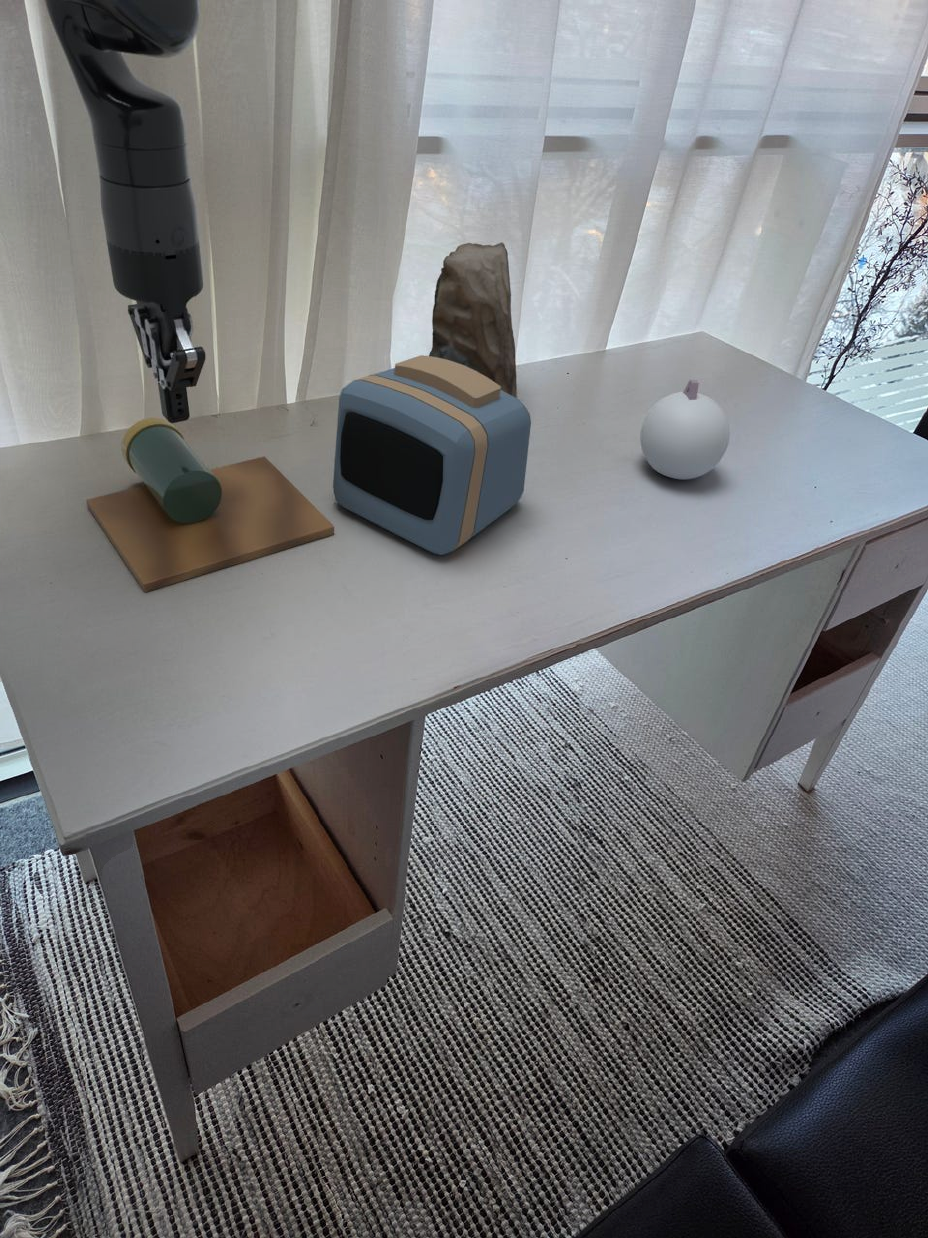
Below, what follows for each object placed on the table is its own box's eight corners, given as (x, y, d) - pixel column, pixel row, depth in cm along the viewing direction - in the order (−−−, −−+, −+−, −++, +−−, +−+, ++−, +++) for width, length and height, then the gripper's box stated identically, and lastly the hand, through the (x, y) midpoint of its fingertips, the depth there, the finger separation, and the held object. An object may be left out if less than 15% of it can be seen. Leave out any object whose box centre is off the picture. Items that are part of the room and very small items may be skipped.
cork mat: (145, 592, 78) (143, 584, 77) (87, 507, 87) (85, 499, 86) (334, 534, 88) (334, 526, 87) (265, 463, 97) (264, 455, 96)
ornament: (616, 458, 107) (639, 369, 99) (678, 446, 111) (704, 359, 103) (667, 500, 100) (696, 408, 92) (730, 485, 104) (763, 396, 97)
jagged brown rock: (421, 426, 108) (434, 266, 95) (414, 382, 117) (424, 231, 104) (517, 430, 110) (542, 273, 97) (502, 387, 119) (524, 239, 106)
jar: (150, 489, 80) (110, 435, 86) (177, 536, 85) (137, 481, 91) (209, 457, 82) (166, 407, 88) (233, 505, 86) (190, 454, 93)
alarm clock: (324, 506, 92) (323, 368, 81) (415, 452, 102) (424, 325, 92) (444, 568, 85) (460, 427, 75) (527, 504, 96) (551, 373, 86)
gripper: (81, 214, 73) (114, 397, 84) (137, 264, 66) (165, 458, 77) (165, 207, 77) (186, 384, 88) (227, 254, 69) (241, 440, 81)
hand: (176, 418), depth 83 cm, fingers closed
